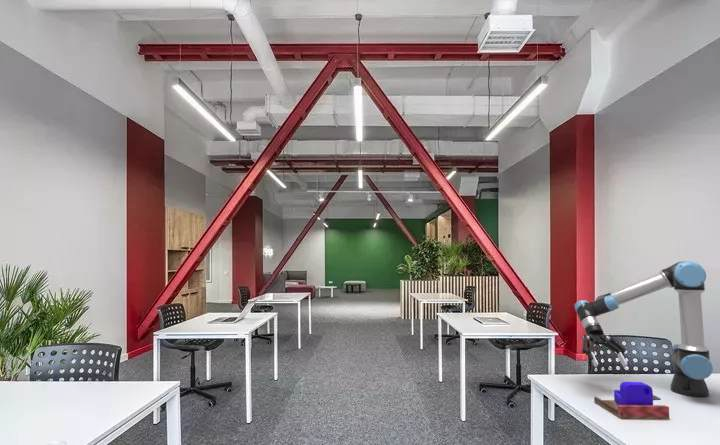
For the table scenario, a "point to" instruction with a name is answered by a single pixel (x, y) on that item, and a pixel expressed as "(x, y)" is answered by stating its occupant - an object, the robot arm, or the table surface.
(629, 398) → the bracket
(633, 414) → the walnut stop track
